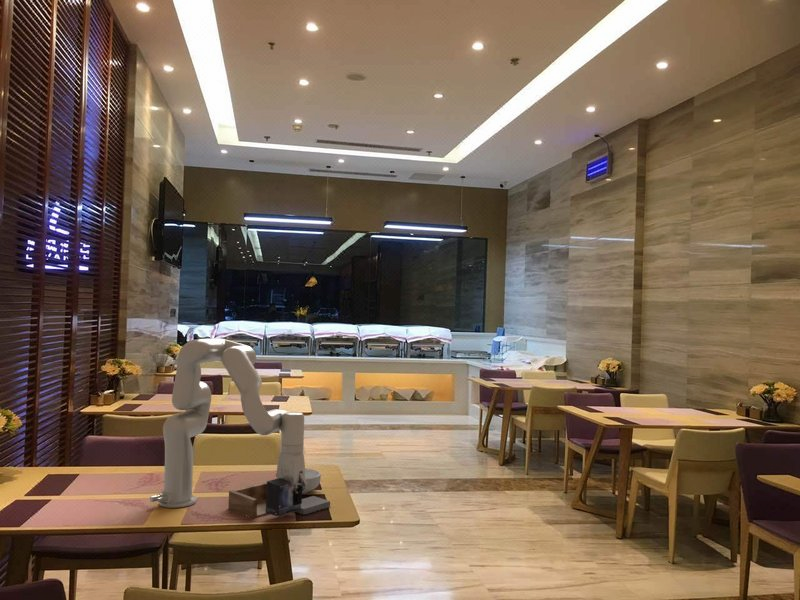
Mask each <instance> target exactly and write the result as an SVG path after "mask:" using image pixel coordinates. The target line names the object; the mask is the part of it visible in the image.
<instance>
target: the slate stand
mask: <svg viewBox="0 0 800 600" xmlns="http://www.w3.org/2000/svg"><path fill="white" fill-rule="evenodd" d="M328 508H331V500H327V499H324V498H321V497H318V496H315V495H312V496H309V497H305V498H302V503H301V509H300V510H297V511H295V512H294V513H297V514H300V515H302V514H303V516H304V514H305V515H307V514H311V513H315V512H318V511H321V509H322V510H325V509H328ZM317 510H318V511H317Z"/></svg>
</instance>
